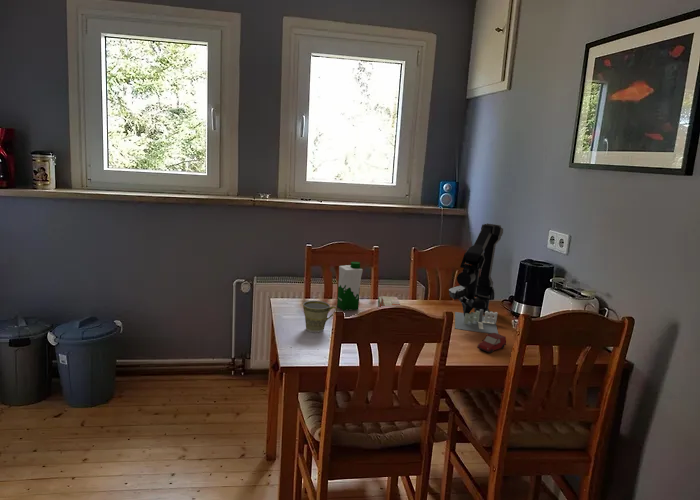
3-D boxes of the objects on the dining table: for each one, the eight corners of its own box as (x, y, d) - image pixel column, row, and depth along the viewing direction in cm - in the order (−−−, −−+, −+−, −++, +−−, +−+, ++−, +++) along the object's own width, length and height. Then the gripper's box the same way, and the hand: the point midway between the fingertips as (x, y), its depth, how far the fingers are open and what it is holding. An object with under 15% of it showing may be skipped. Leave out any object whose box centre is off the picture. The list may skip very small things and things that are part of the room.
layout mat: (454, 312, 233) (454, 311, 233) (494, 317, 231) (494, 316, 231) (455, 328, 212) (455, 328, 212) (498, 334, 209) (498, 334, 209)
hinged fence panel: (476, 320, 222) (478, 310, 222) (478, 321, 222) (480, 311, 221) (463, 323, 218) (465, 313, 217) (465, 324, 217) (467, 314, 216)
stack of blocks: (376, 317, 218) (379, 289, 216) (391, 318, 219) (394, 290, 216) (381, 336, 197) (384, 305, 195) (398, 337, 198) (401, 306, 195)
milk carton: (361, 310, 226) (365, 265, 222) (341, 311, 222) (345, 265, 218) (352, 303, 233) (356, 260, 229) (333, 305, 230) (337, 260, 225)
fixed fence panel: (478, 322, 222) (479, 310, 221) (478, 321, 224) (479, 309, 223) (495, 324, 221) (497, 312, 220) (495, 323, 223) (497, 311, 222)
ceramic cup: (302, 334, 193) (304, 308, 191) (300, 324, 202) (302, 300, 200) (337, 335, 195) (339, 309, 193) (334, 325, 204) (336, 301, 202)
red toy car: (475, 350, 192) (477, 337, 191) (493, 344, 200) (494, 331, 199) (489, 355, 188) (491, 342, 187) (506, 348, 196) (508, 335, 195)
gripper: (442, 274, 222) (438, 309, 226) (464, 288, 205) (458, 325, 208) (466, 274, 225) (461, 308, 229) (489, 288, 208) (483, 325, 212)
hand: (465, 316), depth 219 cm, fingers closed
